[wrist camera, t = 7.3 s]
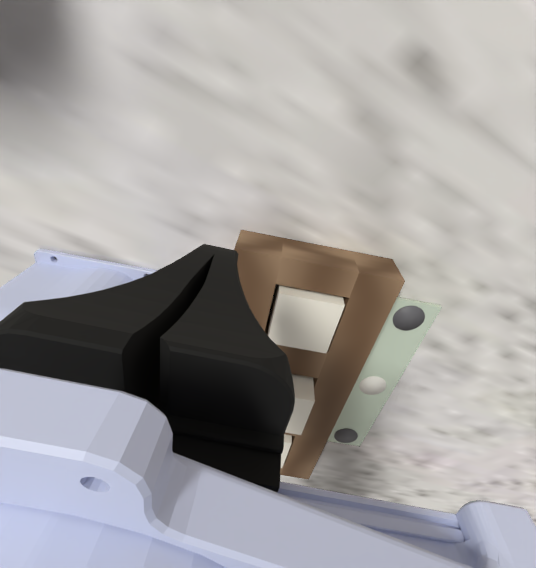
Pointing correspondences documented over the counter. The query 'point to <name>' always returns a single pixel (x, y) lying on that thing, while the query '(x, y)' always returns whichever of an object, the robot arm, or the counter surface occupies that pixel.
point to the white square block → (304, 318)
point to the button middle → (301, 403)
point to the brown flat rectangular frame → (349, 332)
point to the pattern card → (383, 368)
